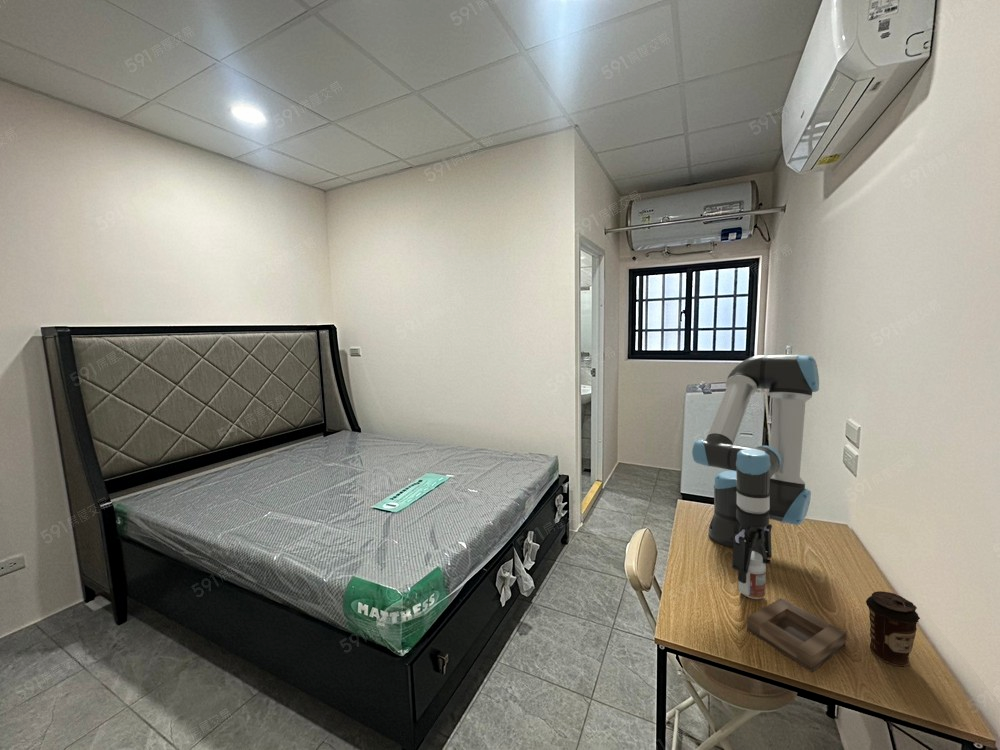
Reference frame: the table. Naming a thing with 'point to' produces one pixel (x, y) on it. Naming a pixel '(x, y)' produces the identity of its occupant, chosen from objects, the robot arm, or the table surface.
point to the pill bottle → (756, 576)
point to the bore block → (797, 633)
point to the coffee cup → (892, 627)
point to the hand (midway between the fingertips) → (752, 587)
